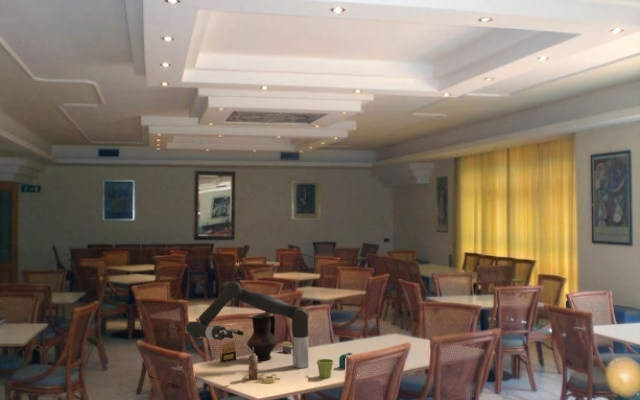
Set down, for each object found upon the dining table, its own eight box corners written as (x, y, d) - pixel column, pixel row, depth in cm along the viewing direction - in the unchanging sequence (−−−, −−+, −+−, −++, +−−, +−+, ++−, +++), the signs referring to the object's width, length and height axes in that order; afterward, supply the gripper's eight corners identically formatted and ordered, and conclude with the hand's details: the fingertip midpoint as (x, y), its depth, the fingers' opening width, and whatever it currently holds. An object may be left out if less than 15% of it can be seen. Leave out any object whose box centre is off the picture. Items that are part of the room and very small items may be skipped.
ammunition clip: (221, 362, 382) (221, 342, 382) (219, 362, 383) (219, 341, 383) (236, 359, 389) (236, 339, 389) (234, 359, 390) (234, 339, 391)
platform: (285, 349, 420) (285, 339, 420) (304, 353, 407) (304, 343, 407) (271, 352, 411) (271, 342, 411) (290, 356, 399) (290, 346, 399)
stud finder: (274, 379, 338) (274, 375, 338) (274, 382, 332) (274, 378, 332) (265, 379, 338) (265, 375, 338) (264, 382, 332) (264, 378, 332)
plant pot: (319, 379, 342) (319, 363, 342) (314, 375, 351) (314, 359, 352) (335, 378, 345) (335, 362, 345) (330, 374, 354) (330, 358, 354)
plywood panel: (280, 376, 349) (280, 374, 349) (278, 385, 331) (278, 383, 331) (244, 376, 349) (244, 374, 349) (240, 385, 331) (240, 383, 331)
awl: (257, 377, 341) (257, 346, 342) (257, 380, 337) (257, 348, 337) (249, 377, 341) (249, 346, 342) (248, 380, 337) (248, 348, 337)
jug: (265, 364, 378) (265, 312, 378) (240, 360, 387) (240, 310, 388) (285, 357, 395) (285, 308, 396) (261, 353, 405) (261, 306, 406)
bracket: (339, 367, 369) (339, 354, 369) (345, 365, 374) (345, 351, 375) (366, 372, 359) (366, 358, 359) (372, 369, 364) (372, 355, 364)
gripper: (206, 327, 350) (228, 330, 342) (224, 323, 362) (246, 325, 353) (206, 341, 350) (229, 344, 341) (224, 336, 362) (246, 339, 353)
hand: (238, 334), depth 347 cm, fingers open, 8 cm apart
